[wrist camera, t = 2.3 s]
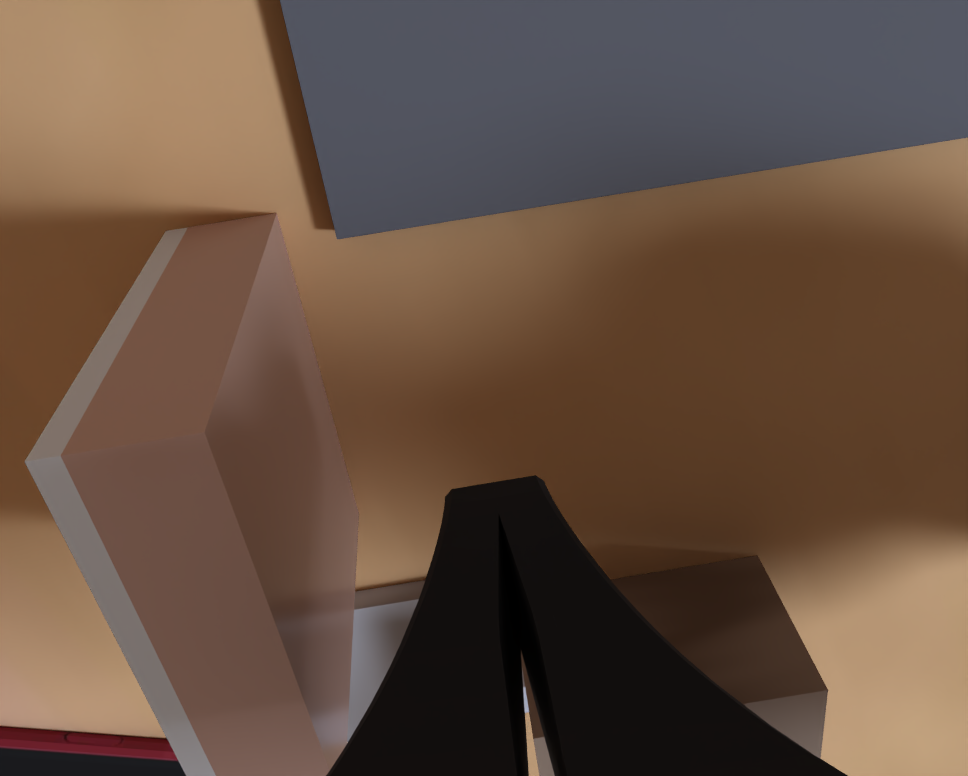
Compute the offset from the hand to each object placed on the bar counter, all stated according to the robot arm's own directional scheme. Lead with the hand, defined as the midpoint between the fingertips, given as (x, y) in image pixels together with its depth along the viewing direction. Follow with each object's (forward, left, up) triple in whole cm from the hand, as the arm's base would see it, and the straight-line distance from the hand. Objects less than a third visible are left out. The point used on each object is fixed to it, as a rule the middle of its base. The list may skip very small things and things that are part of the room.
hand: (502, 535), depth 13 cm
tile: (+4, 0, -6) cm, 7 cm away
